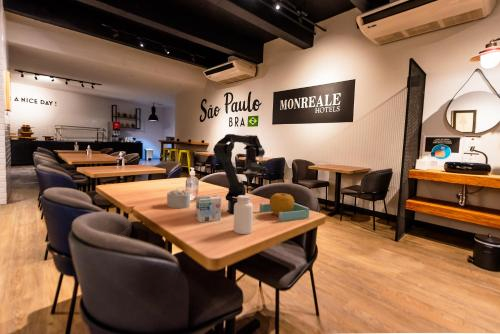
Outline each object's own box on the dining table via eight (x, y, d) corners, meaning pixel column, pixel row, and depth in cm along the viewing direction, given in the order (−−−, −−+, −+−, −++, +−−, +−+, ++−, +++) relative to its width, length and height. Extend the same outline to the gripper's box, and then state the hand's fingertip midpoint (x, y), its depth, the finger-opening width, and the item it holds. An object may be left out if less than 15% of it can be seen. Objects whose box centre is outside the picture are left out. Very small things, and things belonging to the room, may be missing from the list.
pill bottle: (233, 228, 114) (234, 194, 113) (251, 228, 115) (252, 194, 114) (233, 234, 106) (234, 198, 105) (253, 234, 107) (254, 198, 106)
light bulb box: (199, 222, 120) (199, 199, 119) (195, 218, 126) (195, 196, 125) (221, 220, 125) (221, 198, 124) (216, 216, 131) (216, 195, 130)
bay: (279, 221, 126) (280, 211, 125) (259, 211, 143) (259, 202, 142) (309, 218, 134) (309, 208, 134) (286, 208, 152) (286, 200, 151)
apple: (265, 212, 141) (265, 191, 140) (285, 210, 147) (286, 190, 146) (276, 219, 130) (277, 196, 129) (298, 217, 135) (300, 195, 134)
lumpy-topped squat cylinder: (178, 202, 157) (179, 188, 156) (194, 206, 149) (194, 191, 149) (164, 205, 148) (164, 190, 147) (180, 209, 141) (180, 193, 140)
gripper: (241, 158, 137) (240, 188, 138) (272, 158, 144) (271, 186, 146) (233, 157, 147) (232, 184, 148) (262, 157, 155) (262, 183, 156)
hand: (249, 184), depth 149 cm, fingers closed
